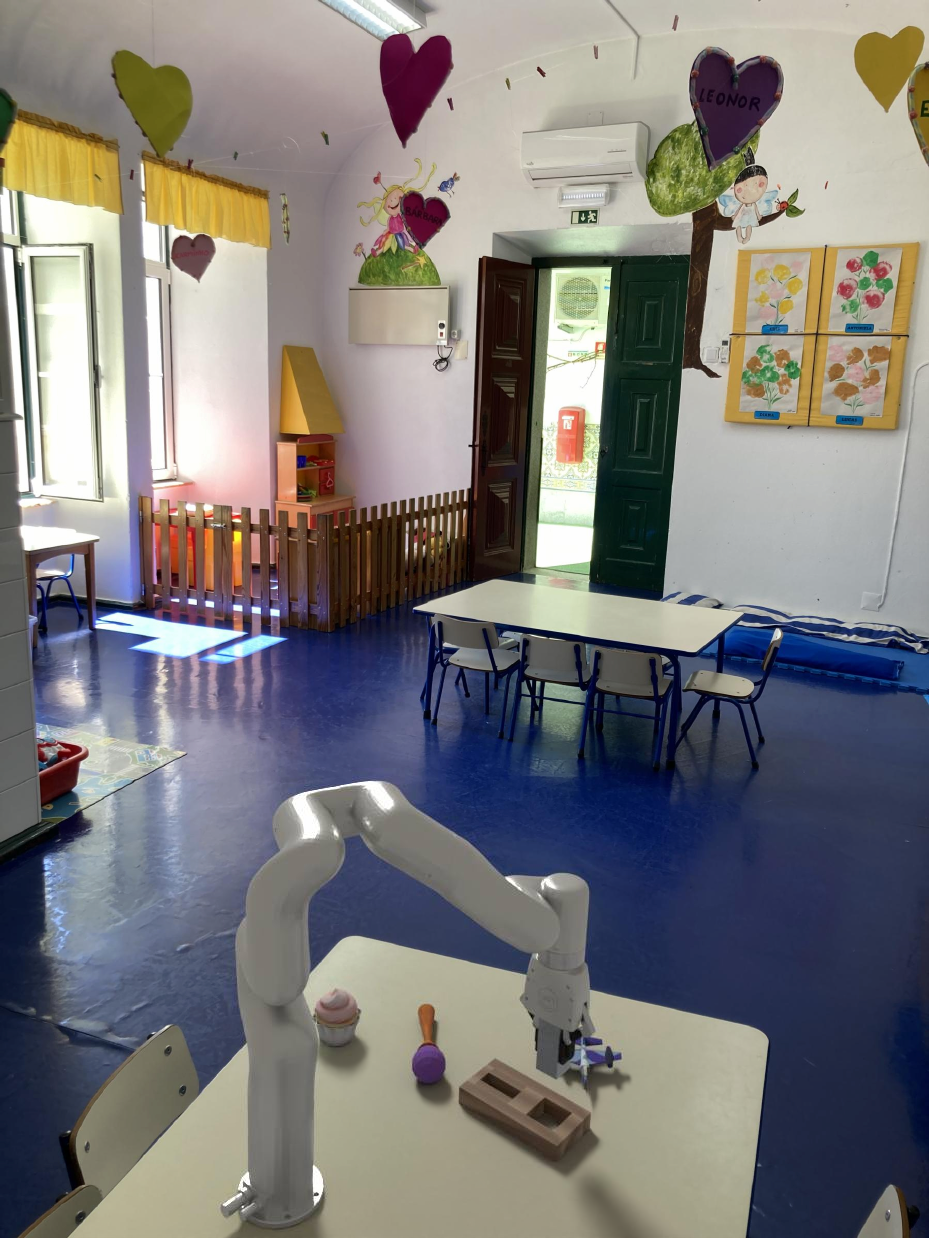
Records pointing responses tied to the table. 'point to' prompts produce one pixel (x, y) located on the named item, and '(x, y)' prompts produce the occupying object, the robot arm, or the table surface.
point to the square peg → (550, 1050)
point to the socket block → (524, 1108)
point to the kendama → (428, 1050)
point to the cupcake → (336, 1017)
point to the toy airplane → (592, 1056)
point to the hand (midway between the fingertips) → (554, 1052)
